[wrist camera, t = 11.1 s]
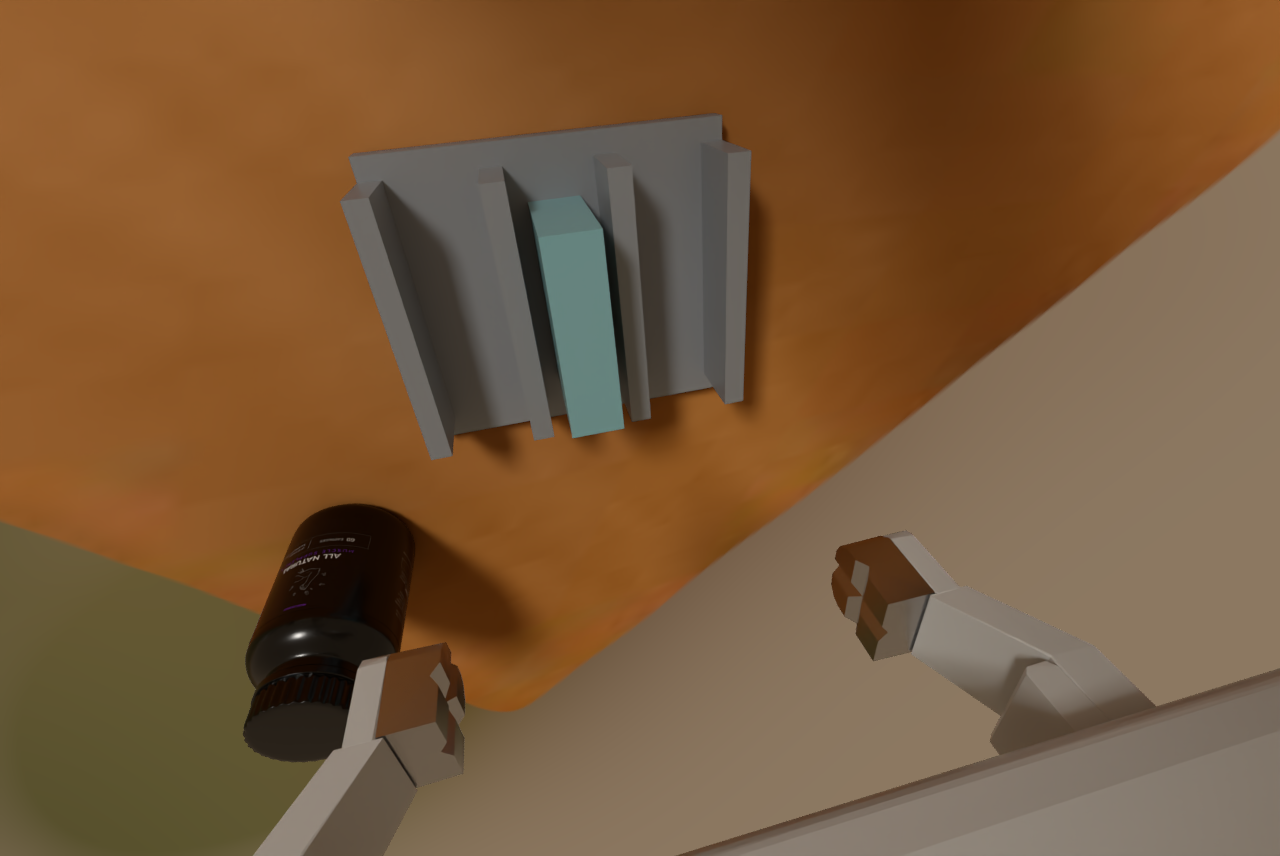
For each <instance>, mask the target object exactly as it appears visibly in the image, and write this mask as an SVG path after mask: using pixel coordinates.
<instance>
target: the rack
mask: <svg viewBox="0 0 1280 856" xmlns="http://www.w3.org/2000/svg"><path fill="white" fill-rule="evenodd" d="M349 160H350V163H351V167H352V170H353V173H354V176H355V179H356V182H357V184H356V185H355V186H354V187H353V188H352V189H351V190H350V191H349V192H348V193H347V194H346V195H345V197H344V198H343V199H342V200H341V201H340V203H341V205H342V208H343V211H344V214H345V217H346V220H347V222H348V225H349V228H350V231H351V234H352V237H353V239H354V242H355V245H356V248H357V251H358V254H359V256H360V259H361V262H362V265H363V268H364V270H365V273H366V276H367V279H368V282H369V285H370V287H371V290H372V293H373V296H374V299H375V302H376V304H377V307H378V310H379V313H380V316H381V319H382V321H383V324H384V327H385V330H386V333H387V336H388V338H389V341H390V344H391V347H392V350H393V353H394V355H395V358H396V361H397V364H398V367H399V370H400V372H401V375H402V378H403V381H404V384H405V387H406V389H407V392H408V395H409V398H410V401H411V403H412V406H413V409H414V412H415V415H416V418H417V420H418V423H419V426H420V429H421V432H422V435H423V437H424V440H425V443H426V446H427V449H428V452H429V454H430V457H431V460H434V459H439V458H445V457H450V456H452V455H453V442H454V435H456V434H461V433H466V432H472V431H477V430H483V429H488V428H493V427H499V426H504V425H510V424H515V423H520V422H526V421H530V423H531V428H532V432H533V437H534V440H539V439H545V438H550V437H554V433H553V427H552V422H551V417H553V416H558V415H564V414H567V412H566V407H565V403H564V399H563V395H562V390H561V386H560V382H559V377H558V372H557V366H556V361H555V355H554V349H553V344H552V338H551V332H550V327H549V321H548V315H547V310H546V304H545V298H544V293H543V287H542V281H541V276H540V270H539V264H538V259H537V253H536V247H535V242H534V236H533V230H532V225H531V219H530V213H529V208H528V202H533V201H540V200H548V199H556V198H564V197H571V196H579V195H580V196H581V197H582V199H583V200H584V202H585V203H586V205H587V206H588V208H589V209H590V211H591V212H592V213H593V215H594V216H595V218H596V219H597V221H598V222H599V224H600V225H601V227H602V228H603V236H604V245H605V254H606V263H607V273H608V282H609V291H610V300H611V310H612V319H613V328H614V337H615V347H616V356H617V365H618V374H619V384H620V393H621V402H622V404H623V403H625V406H626V408H627V411H628V413H629V416H630V418H631V421H632V422H634V421H639V420H645V419H650V418H651V412H650V398H656V397H661V396H667V395H672V394H677V393H683V392H688V391H694V390H699V389H705V388H710V387H714V389H715V390H716V392H717V393H718V395H719V396H720V398H721V399H722V401H723V402H724V403H725V404H729V403H734V402H739V401H743V388H744V357H745V327H746V296H747V266H748V235H749V205H750V175H751V150H748V149H745V148H743V147H740V146H737V145H735V144H732V143H729V142H726V141H724V140H722V115H720V114H716V113H712V114H703V115H694V116H685V117H676V118H667V119H658V120H649V121H640V122H631V123H622V124H613V125H604V126H595V127H586V128H578V129H569V130H560V131H551V132H542V133H533V134H524V135H515V136H506V137H497V138H488V139H479V140H470V141H461V142H452V143H443V144H434V145H425V146H416V147H407V148H398V149H390V150H381V151H372V152H363V153H354V154H352V155H351V156H349Z"/></svg>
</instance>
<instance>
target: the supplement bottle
mask: <svg viewBox="0 0 1280 856" xmlns="http://www.w3.org/2000/svg"><path fill="white" fill-rule="evenodd" d="M414 557H415V543H414V539H413V536H412V534H411V532H410V531H409V529H408V528H407V526H406V525H405V524H404V523H403V522H402V521H401V520H400V519H398V518H397V517H396V516H394V515H392V514H391V513H389V512H387V511H385V510H382V509H379V508H376V507H373V506H368V505H361V504H345V505H337V506H333V507H329V508H326V509H323V510H321V511H319V512H317V513H315V514H313V515H311V516H310V517H308V518H307V519H306V520H305V521H304V522H303V523H302V524H301V525H300V526H299V527H298V529H297V531H296V532H295V534H294V536H293V538H292V541H291V543H290V545H289V547H288V550H287V552H286V555H285V557H284V560H283V562H282V564H281V567H280V569H279V572H278V574H277V577H276V579H275V582H274V584H273V586H272V589H271V591H270V594H269V596H268V599H267V601H266V604H265V606H264V608H263V611H262V613H261V616H260V618H259V621H258V623H257V626H256V628H255V630H254V633H253V635H252V638H251V640H250V643H249V646H248V649H247V652H246V657H245V665H246V671H247V674H248V677H249V679H250V681H251V683H252V684H253V686H254V687H255V689H256V690H255V693H254V695H253V698H252V701H251V708H250V710H249V714H248V716H247V719H246V721H245V724H244V731H243V736H244V737H245V742H246V743H248V747H250V748H252V749H253V750H254V752H257V753H259V754H261V755H262V756H265V757H269V758H270V759H277V760H280V761H289V762H308V761H318V760H322V759H327V758H328V757H329V755H330V754H331V753H332V751H333V750H336V749H340V748H342V744H343V739H344V734H345V729H346V724H347V719H348V714H349V709H350V704H351V699H352V694H353V689H354V684H355V679H356V674H357V670H358V668H359V666H360V664H361V662H362V661H363V660H367V659H372V658H376V657H380V656H384V655H389V654H393V653H398V652H400V649H401V642H402V636H403V629H404V623H405V616H406V610H407V604H408V597H409V591H410V584H411V578H412V571H413V564H414Z"/></svg>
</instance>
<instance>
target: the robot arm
mask: <svg viewBox="0 0 1280 856" xmlns="http://www.w3.org/2000/svg"><path fill="white" fill-rule="evenodd" d="M835 559H836V561H837V562H838V564H839V567H838V568H837V569H836V570H835V571H834V573H833V574H832V583H831V585H832V590H833V595H834V598H835V600H836V602H837V605H838V607H839V608H840V610H841V612H842V613H843V615H844V616H845V617H846V618H848V619H850V620H852V621H853V622H855V623H857V627H856V635H857V637H858V638H859V640H860V641H861V643H862V645H863V646H864V648H865V649H866V651H867V652H868V654H869V655H870V657H871V659H872V660H873V661H876V660H880V659H884V658H888V657H893V656H897V655H901V654H905V653H909V652H912V653H911V654H912V655H913V656H915V657H916V658H917V659H919V660H920V661H922V662H923V663H925V664H926V665H928V666H929V667H930V668H932V669H933V670H935V671H936V672H938V673H939V674H941V675H942V676H944V677H945V678H946V679H948V680H949V681H951V682H952V683H954V684H955V685H957V686H958V687H959V688H961V689H962V690H964V691H965V692H967V693H968V694H970V695H971V696H973V697H974V698H975V699H977V700H978V701H980V702H981V703H983V704H984V705H986V706H987V707H989V708H990V709H991V710H993V711H994V712H996V713H998V714H999V715H1000V716H1001V717H1000V719H999V720H998V722H997V724H996V726H995V728H994V730H993V732H992V734H991V739H990V742H991V744H992V745H993V747H994V748H995V749H996V751H997V752H998V753H999V756H995V757H992V758H989V759H986V760H983V761H979V762H976V763H973V764H970V765H966V766H964V767H960V768H957V769H954V770H950V771H947V772H944V773H941V774H938V775H934V776H931V777H928V778H925V779H921V780H918V781H915V782H912V783H908V784H905V785H902V786H899V787H896V788H892V789H889V790H886V791H883V792H880V793H876V794H873V795H870V796H867V797H863V798H860V799H857V800H854V801H850V802H848V803H844V804H841V805H838V806H835V807H831V808H828V809H825V810H822V811H818V812H815V813H812V814H809V815H806V816H802V817H799V818H796V819H793V820H789V821H786V822H783V823H780V824H776V825H773V826H770V827H767V828H763V829H760V830H757V831H754V832H751V833H747V834H744V835H741V836H738V837H734V838H731V839H728V840H725V841H722V842H719V843H716V844H712V845H709V846H706V847H702V848H699V849H696V850H693V851H689V852H686V853H683V854H680V855H677V856H1280V668H1279V669H1276V670H1273V671H1269V672H1267V673H1263V674H1260V675H1257V676H1253V677H1250V678H1247V679H1244V680H1240V681H1237V682H1234V683H1231V684H1228V685H1224V686H1221V687H1218V688H1215V689H1212V690H1208V691H1205V692H1202V693H1199V694H1195V695H1193V696H1189V697H1186V698H1182V699H1179V700H1177V701H1173V702H1170V703H1166V704H1163V705H1160V706H1157V707H1156V706H1155V705H1154V704H1153V703H1152V702H1151V701H1150V700H1149V699H1148V698H1147V697H1146V696H1145V695H1144V694H1143V693H1142V692H1141V691H1140V690H1139V689H1138V688H1137V687H1136V686H1135V685H1134V684H1133V683H1132V682H1131V681H1130V680H1129V679H1128V678H1127V677H1126V676H1125V675H1124V674H1123V673H1122V672H1121V671H1120V670H1119V669H1118V668H1116V667H1115V666H1114V665H1113V664H1112V663H1111V662H1110V661H1109V660H1108V659H1107V658H1106V657H1105V656H1104V655H1103V654H1102V653H1101V652H1100V651H1099V650H1098V649H1097V648H1096V647H1095V646H1094V645H1092V644H1090V643H1087V642H1085V641H1083V640H1081V639H1079V638H1077V637H1075V636H1072V635H1070V634H1068V633H1066V632H1064V631H1062V630H1060V629H1058V628H1056V627H1053V626H1051V625H1049V624H1047V623H1045V622H1043V621H1041V620H1038V619H1036V618H1034V617H1032V616H1030V615H1028V614H1026V613H1024V612H1021V611H1019V610H1017V609H1015V608H1013V607H1011V606H1009V605H1007V604H1004V603H1002V602H1000V601H998V600H996V599H993V598H992V597H989V596H987V595H985V594H983V593H981V592H979V591H977V590H975V589H972V588H970V587H968V586H963V587H959V585H958V584H957V583H956V582H955V581H954V580H953V579H952V578H951V577H950V575H949V574H948V573H947V572H946V571H945V570H944V569H943V568H942V567H941V565H940V564H939V563H938V562H937V561H936V560H935V559H934V558H933V557H932V555H931V554H930V553H929V552H928V551H927V550H926V549H925V548H924V547H923V546H922V544H921V543H920V542H919V541H918V540H917V539H916V538H915V537H914V536H913V534H912V533H910V532H908V531H901V532H897V533H893V534H889V535H885V536H878V537H874V538H870V539H866V540H863V541H859V542H855V543H851V544H847V545H843V546H840V547H839V548H838V550H837V551H836V557H835ZM464 716H465V694H464V685H463V681H462V677H461V673H460V671H459V669H458V666H456V665H454V664H452V663H451V651H450V649H449V647H448V645H447V643H446V642H445V643H440V644H435V645H431V646H426V647H421V648H417V649H412V650H407V651H403V652H398V653H393V654H389V655H384V656H380V657H376V658H372V659H367V660H363V661H362V662H361V664H360V666H359V668H358V670H357V674H356V679H355V684H354V689H353V694H352V699H351V704H350V709H349V714H348V719H347V724H346V729H345V734H344V739H343V744H342V748H340V749H336V750H333V751H332V753H331V754H330V755H329V757H328V758H327V759H326V761H325V762H324V763H323V764H322V766H321V767H320V768H319V770H318V771H317V772H316V774H315V775H314V776H313V778H312V779H311V780H310V782H309V783H308V784H307V785H306V787H305V788H304V789H303V791H302V792H301V793H300V795H299V796H298V797H297V799H296V800H295V801H294V803H293V804H292V805H291V807H290V808H289V809H288V811H287V812H286V813H285V814H284V816H283V817H282V818H281V820H280V821H279V822H278V824H277V825H276V826H275V828H274V829H273V830H272V832H271V833H270V834H269V835H268V837H267V838H266V839H265V841H264V842H263V843H262V845H261V846H260V847H259V849H258V850H257V851H256V853H255V854H254V855H253V856H383V855H384V853H385V851H386V849H387V847H388V846H389V844H390V842H391V840H392V838H393V836H394V834H395V832H396V830H397V829H398V827H399V825H400V823H401V821H402V819H403V817H404V815H405V813H406V811H407V809H408V808H409V806H410V804H411V802H412V800H413V798H414V796H415V794H416V792H417V789H416V788H417V787H421V786H424V785H427V784H431V783H434V782H437V781H440V780H443V779H447V778H450V777H454V776H457V775H460V774H463V770H464V736H463V734H462V732H461V730H460V727H459V723H460V722H461V720H462V719H463V717H464Z"/></svg>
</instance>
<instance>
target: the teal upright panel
mask: <svg viewBox="0 0 1280 856" xmlns="http://www.w3.org/2000/svg"><path fill="white" fill-rule="evenodd" d="M528 208H529V213H530V219H531V225H532V230H533V236H534V242H535V247H536V253H537V259H538V264H539V270H540V276H541V281H542V287H543V293H544V298H545V304H546V310H547V315H548V321H549V327H550V332H551V338H552V344H553V349H554V355H555V361H556V366H557V372H558V377H559V382H560V386H561V390H562V395H563V399H564V403H565V407H566V412H567V416H568V420H569V425H570V429H571V433H572V437H573V438H577V437H582V436H587V435H592V434H598V433H603V432H608V431H613V430H618V429H624V420H623V411H622V402H621V393H620V384H619V374H618V365H617V356H616V347H615V337H614V328H613V319H612V310H611V300H610V291H609V282H608V273H607V263H606V254H605V245H604V236H603V228H602V227H601V225H600V224H599V222H598V221H597V219H596V218H595V216H594V215H593V213H592V212H591V211H590V209H589V208H588V206H587V205H586V203H585V202H584V200H583V199H582V197H581V196H580V195H579V196H571V197H564V198H556V199H548V200H540V201H533V202H528Z"/></svg>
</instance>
